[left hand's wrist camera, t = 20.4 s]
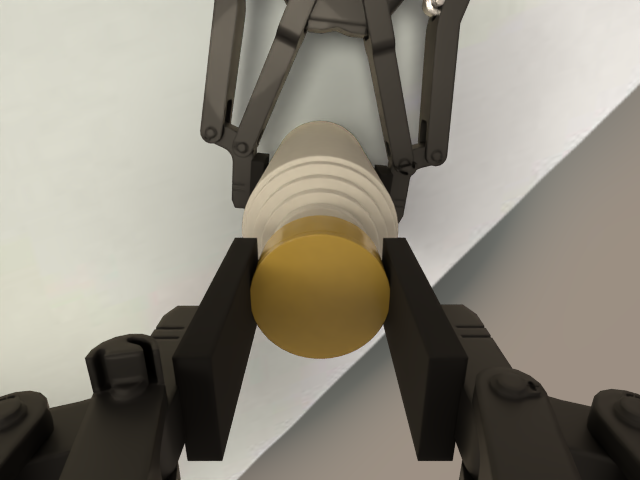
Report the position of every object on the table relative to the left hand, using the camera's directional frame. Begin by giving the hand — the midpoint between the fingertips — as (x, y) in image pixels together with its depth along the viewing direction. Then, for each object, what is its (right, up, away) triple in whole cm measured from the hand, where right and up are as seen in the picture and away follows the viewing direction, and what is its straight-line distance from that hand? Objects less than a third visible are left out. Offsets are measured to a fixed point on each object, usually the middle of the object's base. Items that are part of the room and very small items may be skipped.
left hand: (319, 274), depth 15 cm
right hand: (0, 0, +13) cm, 13 cm away
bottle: (0, +7, +17) cm, 18 cm away
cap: (0, -1, -1) cm, 2 cm away
